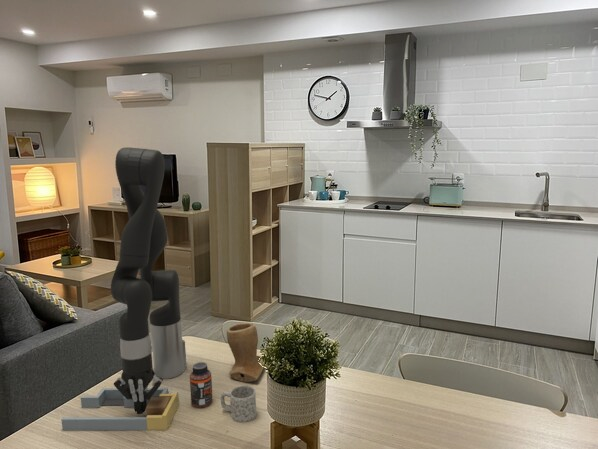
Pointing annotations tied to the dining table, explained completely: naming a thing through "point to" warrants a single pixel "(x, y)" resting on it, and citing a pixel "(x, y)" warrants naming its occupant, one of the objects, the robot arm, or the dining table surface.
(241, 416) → the mug
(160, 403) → the walnut block
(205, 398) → the supplement bottle
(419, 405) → the dining table surface
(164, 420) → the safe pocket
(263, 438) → the dining table surface
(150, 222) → the robot arm
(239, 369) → the tan boot vase
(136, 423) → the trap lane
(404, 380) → the dining table surface
